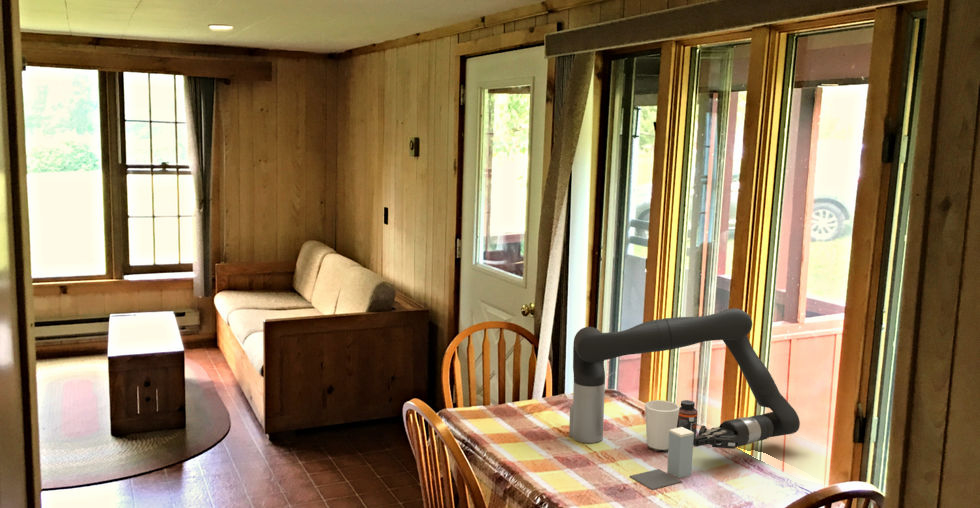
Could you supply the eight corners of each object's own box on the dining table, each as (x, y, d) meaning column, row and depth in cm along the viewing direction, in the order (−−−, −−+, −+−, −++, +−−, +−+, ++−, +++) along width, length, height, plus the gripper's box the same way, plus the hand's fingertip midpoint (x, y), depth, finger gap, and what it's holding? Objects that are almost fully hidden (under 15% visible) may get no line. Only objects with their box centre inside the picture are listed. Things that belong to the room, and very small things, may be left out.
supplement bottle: (696, 442, 241) (698, 406, 239) (675, 441, 242) (677, 404, 240) (695, 435, 247) (697, 399, 245) (675, 433, 248) (677, 398, 246)
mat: (629, 476, 216) (629, 475, 216) (658, 469, 221) (658, 468, 221) (652, 489, 208) (652, 488, 208) (681, 482, 213) (681, 481, 213)
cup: (657, 456, 230) (659, 413, 228) (635, 444, 239) (637, 402, 237) (684, 450, 235) (687, 408, 233) (662, 439, 243) (664, 398, 241)
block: (667, 472, 219) (669, 429, 218) (679, 469, 221) (682, 426, 220) (678, 478, 215) (680, 435, 214) (691, 475, 218) (693, 432, 216)
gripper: (723, 411, 233) (677, 421, 225) (759, 426, 222) (712, 437, 213) (721, 437, 234) (676, 447, 226) (757, 452, 223) (710, 464, 214)
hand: (693, 442), depth 220 cm, fingers closed
